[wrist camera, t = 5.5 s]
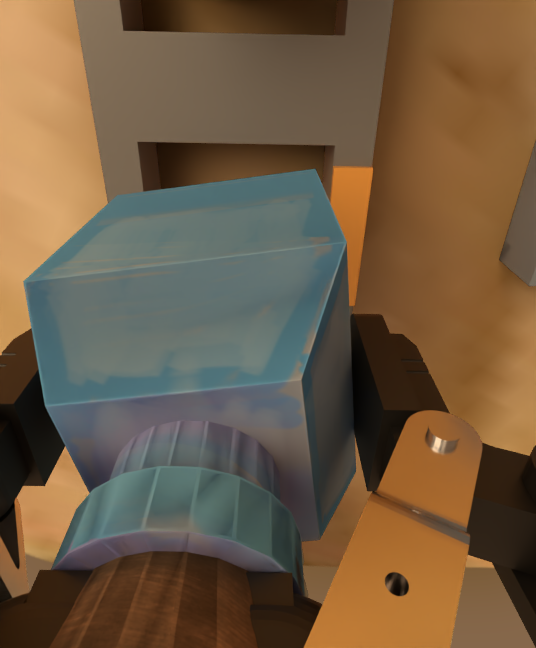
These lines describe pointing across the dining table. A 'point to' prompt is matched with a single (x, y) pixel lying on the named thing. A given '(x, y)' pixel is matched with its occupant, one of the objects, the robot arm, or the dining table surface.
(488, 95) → the dining table surface
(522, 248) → the tray
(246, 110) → the slot holder
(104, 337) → the perfume bottle
